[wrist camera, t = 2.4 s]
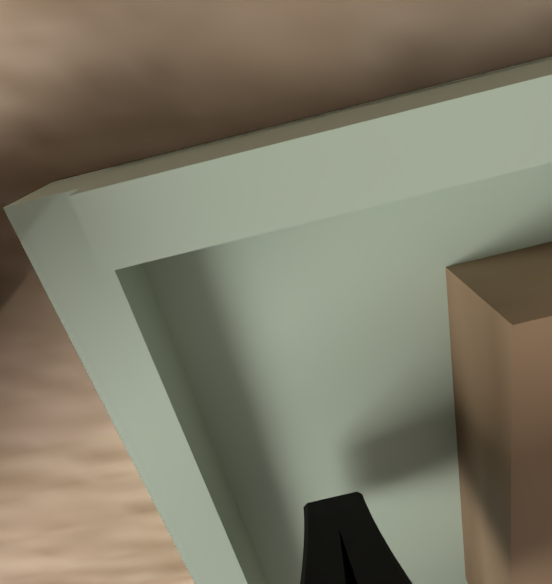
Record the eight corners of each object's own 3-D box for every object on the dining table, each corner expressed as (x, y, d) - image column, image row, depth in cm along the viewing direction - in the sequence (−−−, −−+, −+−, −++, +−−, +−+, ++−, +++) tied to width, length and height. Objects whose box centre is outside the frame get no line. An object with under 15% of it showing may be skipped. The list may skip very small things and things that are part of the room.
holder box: (269, 665, 16) (275, 759, 14) (53, 181, 8) (-15, 216, 6) (682, 574, 16) (757, 655, 13) (853, -21, 8) (1093, -62, 6)
